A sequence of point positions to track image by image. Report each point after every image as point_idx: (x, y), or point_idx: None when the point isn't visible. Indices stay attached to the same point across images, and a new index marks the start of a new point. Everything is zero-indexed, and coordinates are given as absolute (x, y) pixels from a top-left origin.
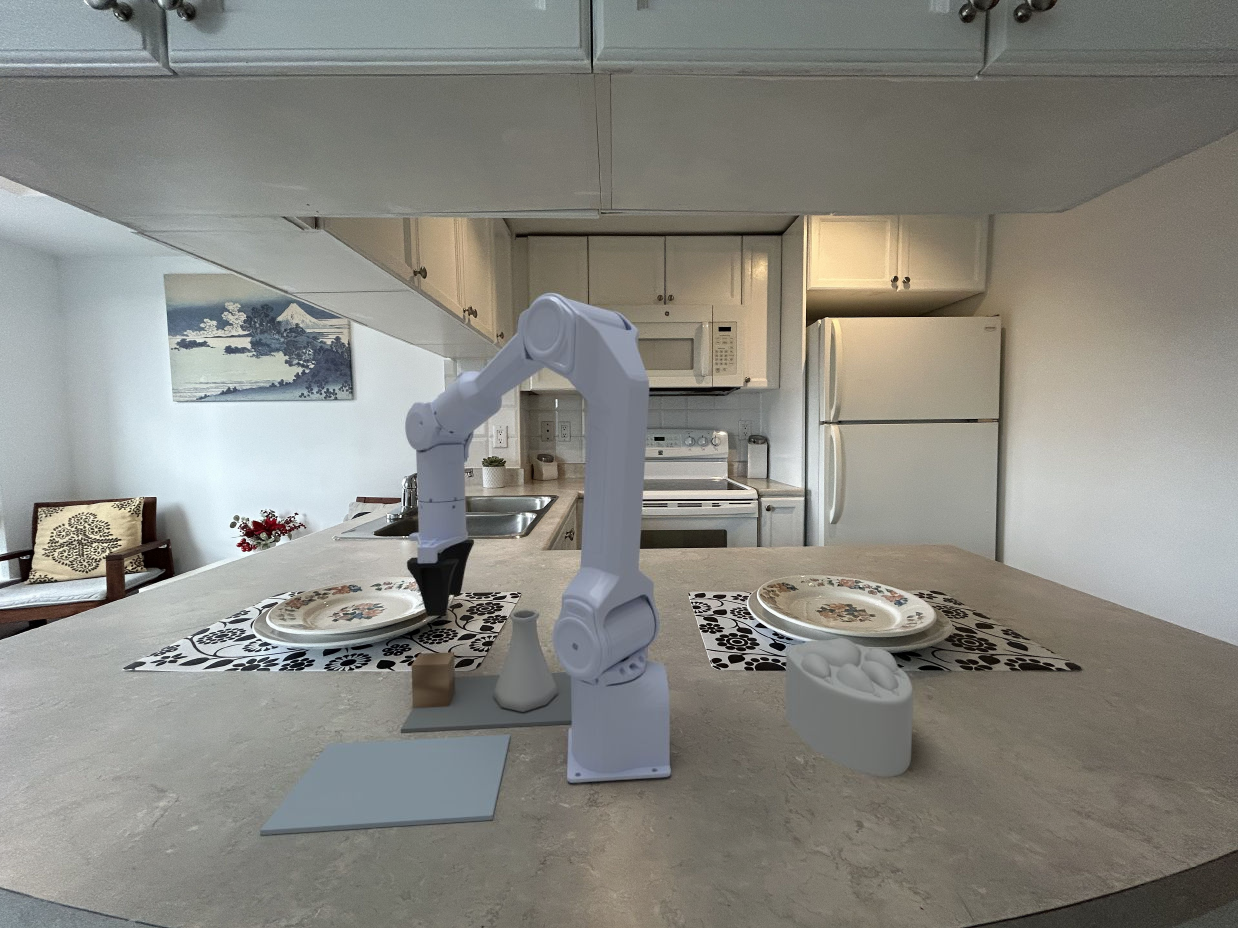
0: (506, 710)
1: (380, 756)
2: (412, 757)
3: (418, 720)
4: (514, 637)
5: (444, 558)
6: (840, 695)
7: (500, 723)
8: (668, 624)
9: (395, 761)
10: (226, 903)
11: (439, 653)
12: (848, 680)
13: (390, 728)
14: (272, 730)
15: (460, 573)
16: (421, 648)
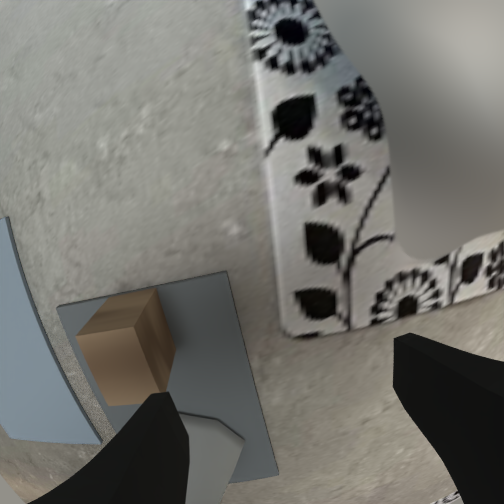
0: None
1: (7, 312)
2: (20, 353)
3: (81, 325)
4: None
5: (496, 439)
6: None
7: (116, 432)
8: (421, 494)
9: (9, 335)
10: None
11: (147, 373)
12: None
13: (62, 282)
14: (34, 86)
15: (437, 441)
16: (381, 164)
